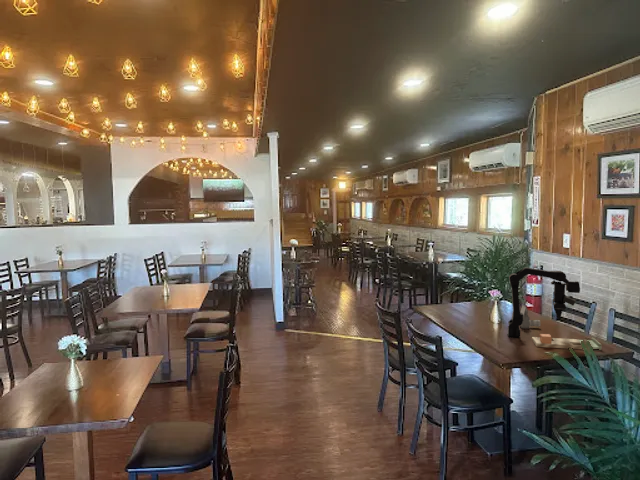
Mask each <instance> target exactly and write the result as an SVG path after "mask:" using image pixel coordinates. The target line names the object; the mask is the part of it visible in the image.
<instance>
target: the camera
mask: <svg viewBox="0 0 640 480" xmlns="http://www.w3.org/2000/svg"><path fill="white" fill-rule="evenodd" d="M520 313H523V320H524V321H523V323H522V324H521V325H520V326H519V328H521V329H530V327H538V328H539V327H541V326H542V325H541V320H540V319H535V320H531V319H530V316H529V314H528V308H527V306H526V305H524V304H522V305H521V309H520Z"/></svg>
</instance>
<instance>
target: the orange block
mask: <svg viewBox="0 0 640 480" xmlns="http://www.w3.org/2000/svg"><path fill="white" fill-rule="evenodd" d="M539 337H540V341H541V343H550V344H551V342H552V338H553V337H552V335H551V334H550V333H539Z"/></svg>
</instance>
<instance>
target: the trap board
mask: <svg viewBox="0 0 640 480" xmlns="http://www.w3.org/2000/svg"><path fill="white" fill-rule="evenodd" d="M590 339H591V340H587V339H586V340H587V341H589V342H590V344H591V346H592V347H593V349H599V350H598V351H602V345H603V344H602V343H600V342H599V341H598V340H597V339H596V338H595V337H591V338H590ZM583 340H584V339H578V338H577V339H576V338H559V337H558V338H557V337H552V342H551V344H550V343H541V341H540V336H539V337H537V336H532V337H531V341H532V342H533V344H534V345H535V347H538V348H555V349H556V348H557V349H568V347H571V348H573V349H572V350H583V349H582V347H581V341H583Z"/></svg>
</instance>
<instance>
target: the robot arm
mask: <svg viewBox="0 0 640 480" xmlns="http://www.w3.org/2000/svg"><path fill="white" fill-rule="evenodd" d="M527 275H531V276H535V277H537V276H538V277H544V278H549V279H552V281H551V282H550V284H551V285H553V287H554V288H553V298H552V305H553V309H554V313H555V315H556V318H557V320H561V317H562V314H563V311H566V309H567V305H566V303H567V304H569V305H571V306H574V305H576V299H575V298H574V297H573V296H572V295H569V296H567V295H566V291H567V293H571V294H572V293H573V294H580V292H581V288H580V281H577V280H575V281H572V280H571V281H569V279H567V274H566V273H565V272H563V271H562V270H544V269H539V268H538V269H537V268H531V267H527V266H526V267H523V268H522V269H520V270H518V271H516V272H514V273H510V274H509V276H508V279H509V284H510V288H511V296H512V298H511V299H512V315H511V319H510V320H508V323H507V324H508V326H507V335H506V336H507V338H511V339H520V338H521V329H520V326H521V324H522V323H523V321H524V320H523V313H520V311H521V309H520V296H519V286H520V281H521V279H524V277H526V276H527Z"/></svg>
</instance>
